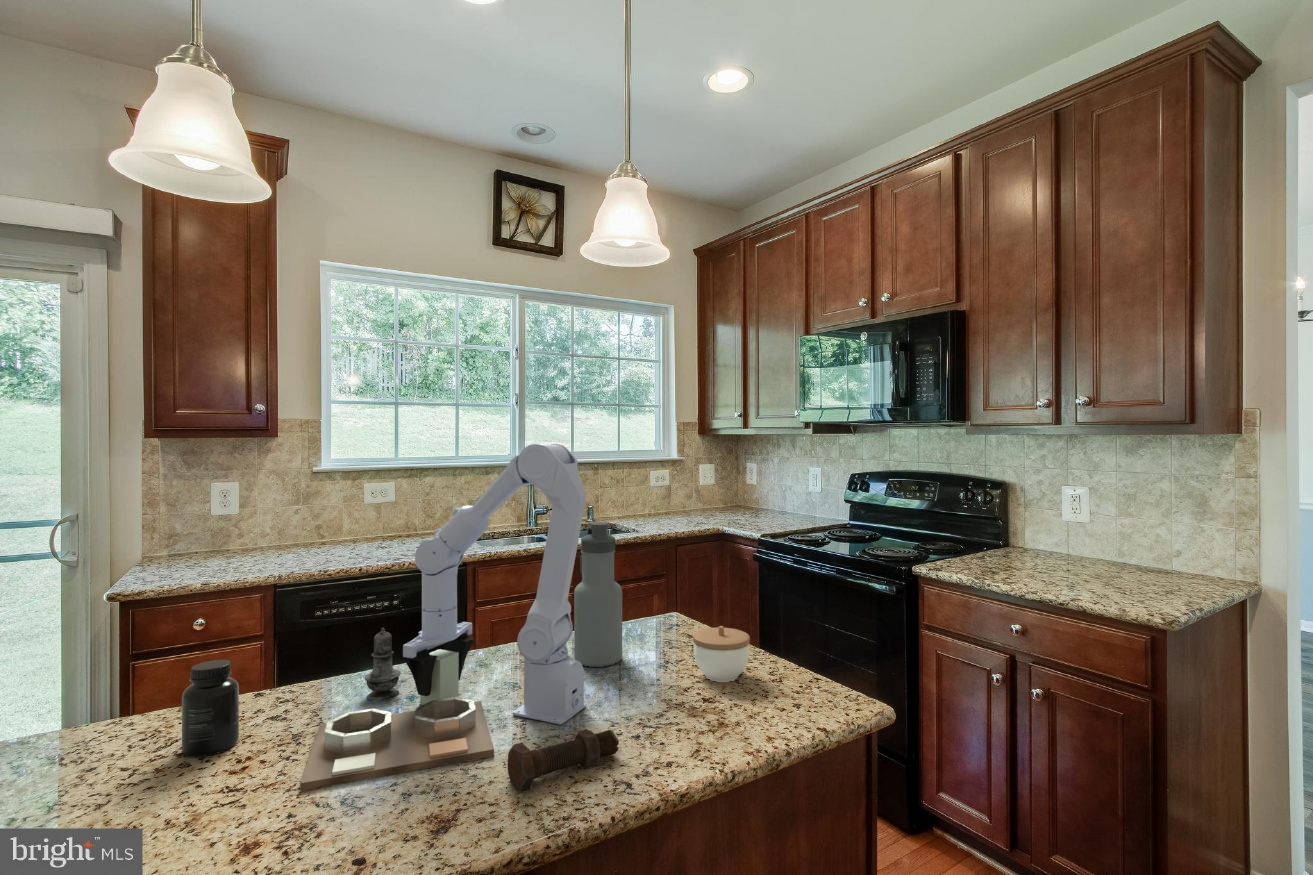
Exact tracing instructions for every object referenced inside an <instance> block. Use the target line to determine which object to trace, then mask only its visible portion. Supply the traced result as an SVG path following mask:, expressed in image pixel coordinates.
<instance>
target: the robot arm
mask: <svg viewBox="0 0 1313 875" xmlns="http://www.w3.org/2000/svg"><path fill="white" fill-rule="evenodd" d="M529 485H533V486H534V487H536V488H537V489H539V490H540V491H541V492H542V493H543V494H544V495H545V496H546V498H547V499H548V500H549V502H550V503H551V504H552V508H551V513H550V517H549V518H550V519H549V526H548V530H547V535H546V541H545V546H544V552H543V557H542V563H541V568H540V574H539V579H538V585H537V589H536V590H537V591H536V596H535V599H534V602H533V603H532V605H531V607H530V609H529V611H528V613H527V615H526V616H527V617H526V621H525V624H524V626H523V627H522V628H521V629H520V631H519V633H518V635H517V647H518V651H519V653H520V654H521V655H522V657H523V704H522V705H521V706H519V707H517V708H516V709H514V710H513V711H512V715H513V716H517V717H523V718H527V719H532V720H536V721H543V722H546V723H550V724H555V725H562V724H564V723H565V722H567V721H568V720H570V719H571V718H572V717H574V716H575V715H576V714H578V713H579V712H580V711H581V710H583V709H584V708H585V707H587V703H586V702H585V683H584V682H585V673H584V666H583V665H582V664H581V662H579V661H577V660H575V658H572V657H571V656H570V655H569V651H568V647H567V642H568V641H569V640H570V638H571V637H572V634H573V630H574V628H573V627H574V625H573V622H572V619H571V612H572V605H571V603H570V601H569V595H570V589H571V582H572V577H573V573H574V566H575V560H576V556H577V555H576V554H577V550H578V545H579V539H580V533H581V528H582V523H583V518H584V512H585V506H586V501H587V493H586V491H585V490H586V489H585V487H584V484H583V482H582V478H581V475H580V472H579V469H578V459H577V458H576V457H575V456H574V455H573V454H572V452H571V451H570V450H569V449H568V448H567V447H566V446H565V445H562V444H559V443H551V444H541V443H532V444H529V445H527V446H525V447H524V448H523V449H522V450H521V452H519V455H518V454H517V455H516V456H514V457H513V458H511V460H510V462H508V464H507V466H506V467H505V468H504V470H503V471H502V472H501V473H500V474H499V475H498V476H497V477H496V479H495V480H494V481H493V482H492V484H491V485H489V487H488V488H487V489H486V490H485V491H484V492H483V494H482V495H480V497H479V499H478V500H477V501H476V502H475V503H474V504H473V505H463V506H462V507H456V508H455V509H453V511H452V512H451V515H452V516H451V518H450V519H449V520H448V521H447V522H446V523H445V524H444V525H443V526H442V528H437V529H436V530H435V531H434V537H433V538H429V539H425V540H423V541H421V542H420V544H419V546H418V547H417V549H416V551H415V555H414V561H415V564H416V567H417V568H418V570H419V571H420V572H421V630H420V631H418V636H416V637H415V638H413V639H412V640H410V641H408V642H407V643H405V644H403V645H402V658H403V661H404V662H405V664H406V665H407V667H408V669H409V670H410V673H411V676H412V678H413V681H414V684H415V687H416V691H417V695H418V696H420V695H422V696H429V695H430V693H431V686H432V673H433V668H434V664H435V661H436V659H437V656H435V655H429V653H430V652H428V651H429V650H431V649H435V648H436V647H438V646H441V645H443V650H447V651H453V652H458V658H459V681H460V680H461V677H462V673H463V669H464V665H465V662H466V659H467V656H468V653H469V651H470V650H471V648H472V646H473V644H474V637H472V636H469V635H473V623H472V622H467V621H462V622H459V623H458V570H459V566H460V564H461V563H462V561H463V559H464V556H465V553H466V552H467V551H468V550H469V549H470V548H471V547H472V546H473V545H474V544H475V542H477V541H478V539H480V537H482V536H483V534H484V533H486V531H488V529H489V518H490V517H491V516H493V514H495V512H496V511H498V510H499V509H500V508H501V507H502V506H503V505H504V504H505V503H506V502H507V501H508V500H509V499H510V498H511V497H513V495H515V494H516V493H517V492H518V491H519V490H520V489H521V488H522V487H527V486H529Z"/></svg>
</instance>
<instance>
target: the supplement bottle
mask: <svg viewBox="0 0 1313 875" xmlns="http://www.w3.org/2000/svg"><path fill="white" fill-rule="evenodd" d="M231 668H232V666H231V661H230V660H228V659H214V660H209V661H204V662H200V663H198V664H195V665H193V666H192V667H191V668H190V677H189V682H190V683H192V684H189V685H188V686H187V687H186V688H185V690H184V691H183V693H182V694H181V752H182V753H183V755H185V756H186V757H188V758H189V757H190V758H201V757H202V758H204V757H207V756H213V755H217V754H219V753H222V752H224V751H226V750H229V749H230V748H232V747H233V746H234V745H236V744H237V742H238V741H239V738H240V737H239V734H240V731H239V729H240V718H239V717H240V716H239V715H240V712H239V711H240V709H239V708H240V702H239V700H240V697H239V695H240V694H239V693H240V692H239V690H240V687H239V682H238V681H237V680H236V679H235V678H233V677H230V676H231V675H232V669H231Z"/></svg>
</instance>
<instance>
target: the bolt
mask: <svg viewBox="0 0 1313 875" xmlns="http://www.w3.org/2000/svg"><path fill="white" fill-rule="evenodd" d="M619 741H620V740H619V739H618V737H617V736H616V734H615V732H614V731H613V730H610V729H608V730H605V731H602V732H601V731H600V732H597V733H595V732H594V731H592V730H590V729H587V728H585V729H582V730H579V731H578V732H577V733H576V734H575V736H574V739H571V740H568V741H564V742H560V743H556V744H553V745H548V746H546V747H541V748H538V749H537V748H536V749H535V748H534V749H529V748H528V746H526V745H525V744H524V743H523V742H518V743H516V744H515V743H514V744H513V745H512V746H511V748H510V749H509V751H508V755H507V774H508V778H509V781H510V784H511V786H512V787H513V788H514V790H515V791H517V792H519V793H522V794H523V793H525V792H528V791H531V789H532V786H533V784H534V780H535V779H539V778H540V777H543V776H545V775H549V774H552V773H554V772H557V771H562V770H565V769H568V768H572V767H575V766H580V767H581V768H582V767H583V769H586V770H589V769H591V768H594V767H596V766H597V765H598V763H599V761H600V760H601V759H602V758H606V757H609V756H612V755H616V753H618V751H619V747H618V746H619V744H620V742H619Z"/></svg>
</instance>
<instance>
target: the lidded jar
mask: <svg viewBox="0 0 1313 875" xmlns="http://www.w3.org/2000/svg"><path fill="white" fill-rule="evenodd" d="M692 642H693V654H694V659H695V663H696V665H697V668H698V669H699V671H700V672H701V673H702V674H703V675H705V676H706V677H705V676H704V677H705V678H706V679H707V680H708V679H710V680H709V681H711V682H714V681H716V682H715V683H731V682H730V681H732V682H734V681H736V680H737V679H738V678H739V676H740V675H741V674H742V673H743V672H744V671H745V669H746V668H747V665H748V660H749V658H750V657H749V655H750V642H751V637H750V634H748V633H747V632H745V631H742V630H741V629H736V628H731V627H730V628H729V627H725V626H723V625H719V626H718V627H709V628H708V627H707V628H702V629H699V630H697V631H695V632H694V633H693V635H692ZM735 679H736V680H735Z"/></svg>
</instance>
